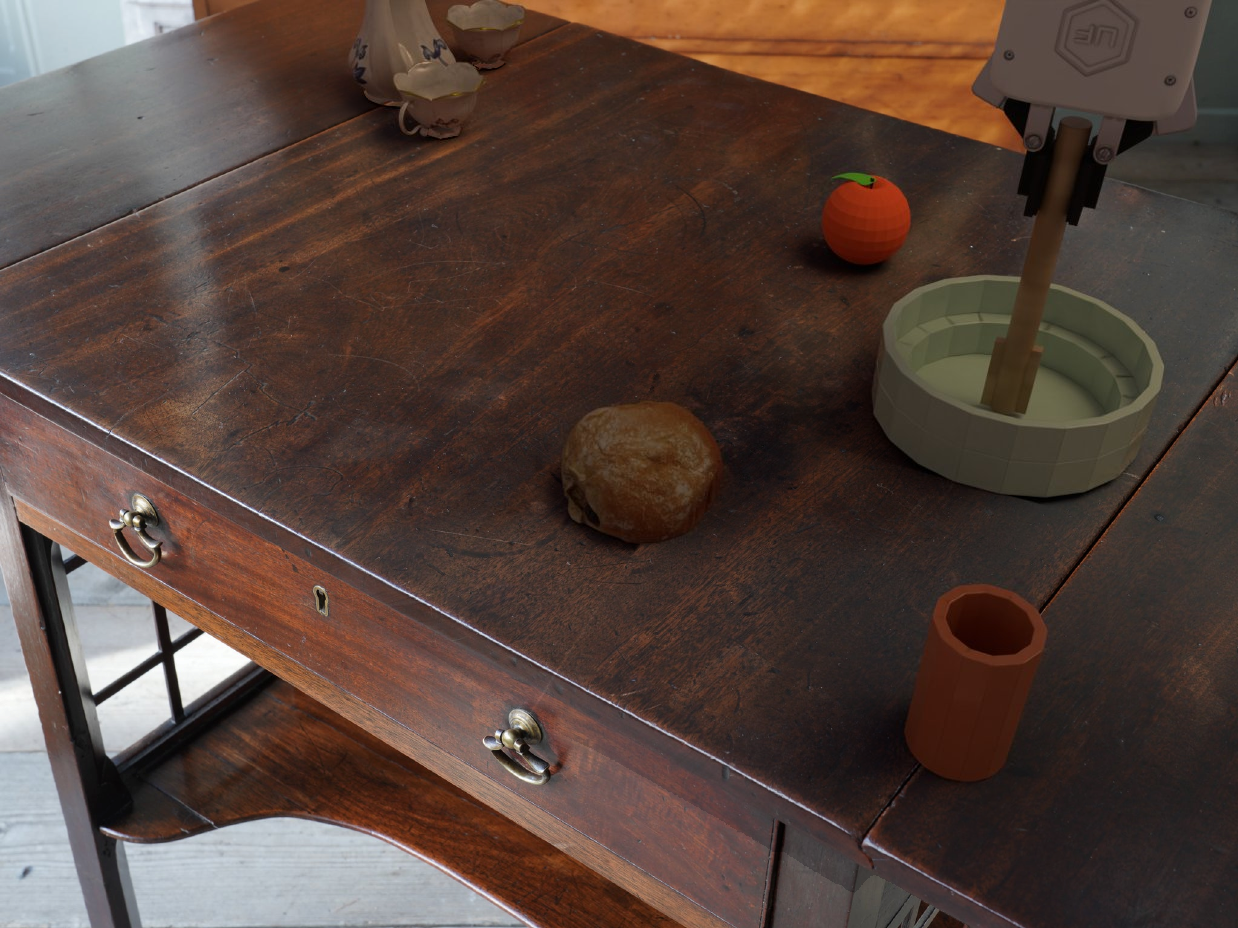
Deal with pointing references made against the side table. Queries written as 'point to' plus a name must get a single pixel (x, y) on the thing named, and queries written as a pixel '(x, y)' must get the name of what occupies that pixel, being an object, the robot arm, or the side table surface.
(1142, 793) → the side table surface
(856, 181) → the clementine
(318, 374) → the side table surface
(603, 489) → the bread roll
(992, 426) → the bowl
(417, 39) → the chinaware
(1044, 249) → the stick
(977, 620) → the holder
